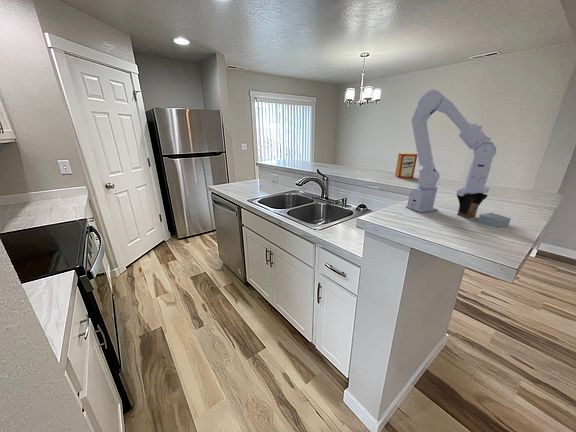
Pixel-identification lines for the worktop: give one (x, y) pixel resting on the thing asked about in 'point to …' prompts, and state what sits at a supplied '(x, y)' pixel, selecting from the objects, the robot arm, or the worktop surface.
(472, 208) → the walnut block
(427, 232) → the worktop surface
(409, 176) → the baking soda box
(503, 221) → the slate slab
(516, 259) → the worktop surface
